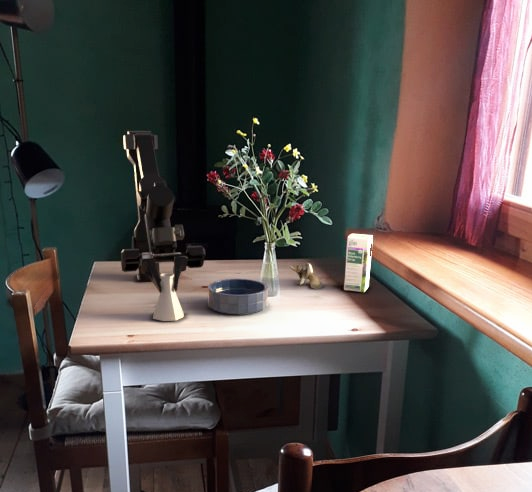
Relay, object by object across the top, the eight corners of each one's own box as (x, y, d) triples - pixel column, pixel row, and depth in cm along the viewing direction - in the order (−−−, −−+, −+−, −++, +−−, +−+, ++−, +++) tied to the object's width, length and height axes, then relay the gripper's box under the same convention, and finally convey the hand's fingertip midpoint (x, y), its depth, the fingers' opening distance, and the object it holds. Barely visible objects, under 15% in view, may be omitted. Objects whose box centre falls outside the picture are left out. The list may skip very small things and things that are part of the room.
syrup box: (343, 290, 164) (346, 236, 159) (348, 284, 169) (352, 232, 164) (364, 293, 162) (368, 238, 157) (369, 287, 167) (373, 234, 162)
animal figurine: (283, 278, 169) (302, 280, 161) (294, 255, 170) (312, 256, 162) (303, 290, 173) (322, 293, 165) (313, 267, 174) (333, 269, 166)
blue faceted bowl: (205, 299, 154) (204, 279, 153) (260, 296, 157) (260, 277, 156) (212, 317, 142) (212, 296, 140) (272, 314, 144) (273, 294, 143)
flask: (178, 323, 137) (176, 280, 134) (147, 320, 139) (145, 277, 135) (188, 313, 144) (187, 271, 140) (159, 310, 145) (157, 269, 142)
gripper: (118, 213, 134) (126, 275, 128) (203, 210, 139) (214, 270, 133) (118, 241, 144) (125, 300, 138) (197, 237, 149) (207, 294, 143)
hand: (168, 291), depth 138 cm, fingers closed on flask, 3 cm apart
